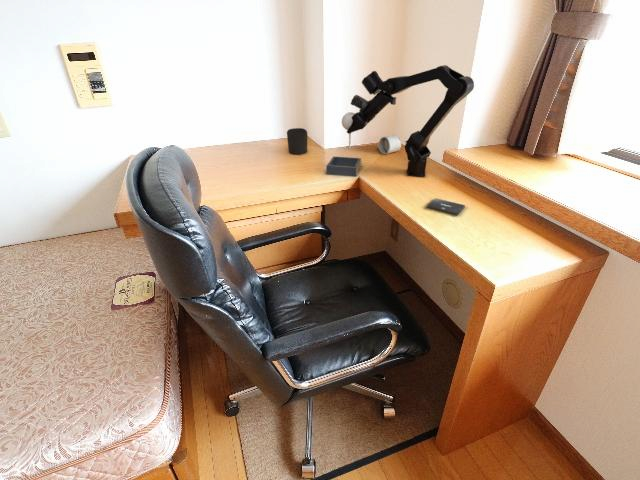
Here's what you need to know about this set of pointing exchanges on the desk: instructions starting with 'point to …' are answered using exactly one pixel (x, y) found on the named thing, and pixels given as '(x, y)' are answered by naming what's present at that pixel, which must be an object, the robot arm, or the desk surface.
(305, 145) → the pen holder
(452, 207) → the solid state drive
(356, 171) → the caddy
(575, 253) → the desk surface
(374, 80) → the robot arm
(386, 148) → the ceramic mug
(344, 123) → the lollipop
